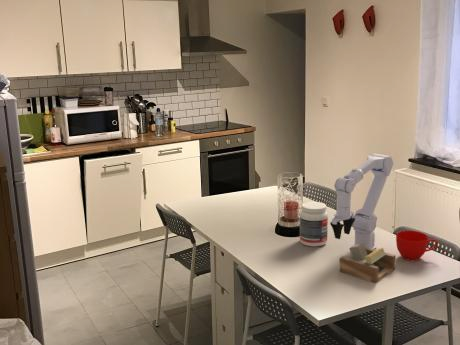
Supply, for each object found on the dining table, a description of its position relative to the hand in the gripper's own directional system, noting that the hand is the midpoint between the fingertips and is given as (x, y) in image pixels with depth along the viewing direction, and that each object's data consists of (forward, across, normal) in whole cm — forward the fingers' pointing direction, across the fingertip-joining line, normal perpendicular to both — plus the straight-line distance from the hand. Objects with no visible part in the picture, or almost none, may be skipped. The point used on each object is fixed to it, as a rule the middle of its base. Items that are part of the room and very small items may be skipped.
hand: (342, 236), depth 220 cm
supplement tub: (+10, -8, -20) cm, 24 cm away
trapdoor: (+6, +3, +14) cm, 16 cm away
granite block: (+7, +3, +11) cm, 13 cm away
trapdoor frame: (+10, +3, +14) cm, 18 cm away
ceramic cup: (+10, -21, +24) cm, 33 cm away
